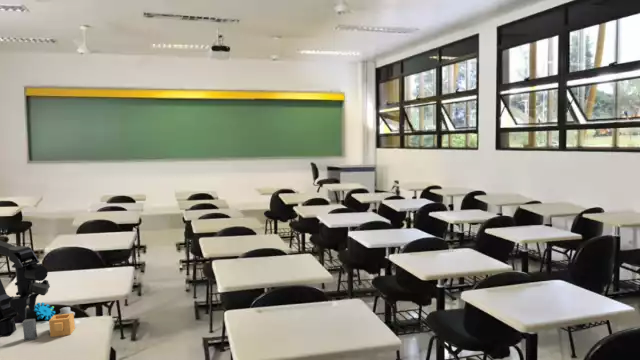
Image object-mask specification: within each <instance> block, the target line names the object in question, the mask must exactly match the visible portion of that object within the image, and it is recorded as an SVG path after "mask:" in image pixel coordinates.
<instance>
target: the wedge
mask: <svg viewBox="0 0 640 360" xmlns="http://www.w3.org/2000/svg"><path fill="white" fill-rule="evenodd" d="M36 323H37V322H36V318H28V319H27V318H26V319H23V321H22V328H23V329H22V332H23V341H24V342H25V341H26V342H27V341H33V340H34V341H35V340H36V339H37V338H38V332H37V324H36Z"/></svg>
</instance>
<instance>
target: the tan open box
mask: <svg viewBox="0 0 640 360" xmlns="http://www.w3.org/2000/svg"><path fill="white" fill-rule="evenodd" d="M59 311H60V312H59V313H58V314H54V316H53V317H52V318H51V319H50V320H49V319H48V323H49V324H48V325H49V334H50V335H49V336H50V338H51V337H61V336H70V335H72V333H73V332H74V331H75V329H76V325H75V316H76V312H75V311H72V310H71V307H70V306H66V307H62V308H60V309H59Z"/></svg>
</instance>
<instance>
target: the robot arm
mask: <svg viewBox="0 0 640 360" xmlns="http://www.w3.org/2000/svg"><path fill="white" fill-rule="evenodd" d="M0 254H1V255H4V256H6V257H8V260H9V261H10V262H12V263H13V264H12V265H11V268H13V269H15V279H16V282H15V283H14V286H16V290H17V291H16V293H15V296H14V295H12V296H10V295H9V294H8V293H7V291H6V289H5V286H4V284H3V282H2V281H3V280H1V278H0V337H8V336H12V335H13V334H14V333H15V332H16V331H17V328H16V327H17V326H16V320H15V319H14V318H16V317H18V316H19V317H20V318H21V319H22V320H27V308H29V310H30V312H35V311H34V309H35V305H36V304H37V303H36V302H37V297H38V296H39V295H40V296H45V295H47V294H48V293H49V288H51V284H50V283H49V280H47V279H46V278H47V276H48V274H49V273H48V269H47V267H45V266H43V264H42V263H40V260H39V257H38V256H37V255H36V254H35V252H34V250H33V249H32V247H30V246H27V245H26V246H24V245H20V246H19V245H14V244H11V243H8V242H6V241H2V240H0Z"/></svg>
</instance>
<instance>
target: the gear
mask: <svg viewBox="0 0 640 360" xmlns="http://www.w3.org/2000/svg"><path fill="white" fill-rule="evenodd" d="M54 308H55V306H53V305H52V306H51V305H49V304H48V303H47V304H46V303H45V302H37V303H36V304H35V308H34V311H33V312H36V313H35V315H36V316H37V319H36V320H41V319H42V320H43V319H44V320H45V321H49V320H50V319H51V318H52V317H53V316H54V315H56V310H54ZM44 317H45V318H44Z"/></svg>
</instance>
